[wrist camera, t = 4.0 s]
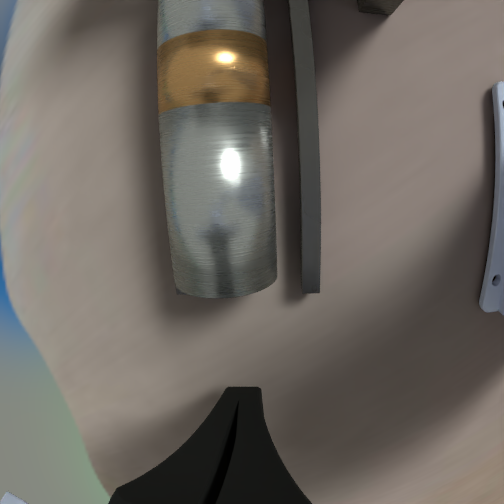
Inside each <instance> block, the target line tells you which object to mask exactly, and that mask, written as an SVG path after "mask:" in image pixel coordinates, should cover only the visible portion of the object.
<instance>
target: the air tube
mask: <svg viewBox="0 0 504 504" xmlns="http://www.w3.org/2000/svg"><path fill="white" fill-rule="evenodd" d="M157 83H158V112H159V132H160V148H161V162H162V175H163V187H164V197H165V208H166V217H167V226H168V235H169V244H170V252H171V259H172V267H173V274H174V281H175V286H176V287H177V288H178V289H179V290H180V291H182V292H184V293H186V294H189V295H192V296H196V297H202V298H232V297H239V296H244V295H248V294H252V293H255V292H258V291H261V290H263V289H265V288H267V287H269V286H270V285H271V284H273V283H274V282H275V280H276V279H277V245H276V215H275V188H274V165H273V143H272V123H271V105H270V88H269V71H268V56H267V41H266V27H265V13H264V0H158V12H157Z"/></svg>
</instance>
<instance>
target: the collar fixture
mask: <svg viewBox="0 0 504 504" xmlns="http://www.w3.org/2000/svg"><path fill="white" fill-rule="evenodd" d="M403 1H404V0H357V2H358V8H359V12H367V13H376V14H384V15H391V14H392V13H393V12H394V11H395V10H396V9H397V7H398V6H399V5H400V4H401V3H402V2H403ZM288 6H289V16H290V27H291V38H292V50H293V63H294V77H295V92H296V109H297V127H298V149H299V177H300V217H301V289H302V294H303V293H320V257H321V192H320V153H319V128H318V109H317V93H316V79H315V66H314V54H313V43H312V33H311V24H310V15H309V6H308V0H288ZM176 291H177V294H186V293H184V292H182V291H180V290H179V289H178V288H177V287H176Z"/></svg>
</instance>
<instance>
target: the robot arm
mask: <svg viewBox="0 0 504 504" xmlns="http://www.w3.org/2000/svg"><path fill="white" fill-rule="evenodd" d="M492 95H493V106H494V120H495V151H496V161H495V192H494V207H493V218H492V228H491V236H490V244H489V251H488V257H487V264H486V269H485V275H484V280H483V285H482V290H481V295H480V299H479V305H480V307H481V308H482V309H483V310H484V311H485V312H488V313H489V312H496V311H499V312H500V313H501V314H502V315H503V316H504V108H503V105H502V104H503V102H504V82H496V83H495V84H494V85H493V87H492ZM495 275H496V278H495V280H494V281H493V282H492V280H493V277H494V276H495ZM0 504H28V503H27V502H25V501H24V500H22V499H20V498H19V497H17V496H15V495H13V494H11V493H10V492H6V493H5V495H4V496H3V498H2V499H1V501H0ZM108 504H312V503H311V502H310V501H309V499H308V498H307V497H306V496H305V495H304V493H303V492H302V491H301V490H300V488H299V487H298V486H297V484H296V483H295V481H294V480H293V478H292V477H291V475H290V474H289V472H288V471H287V469H286V467H285V466H284V464H283V462H282V460H281V458H280V457H279V455H278V452H277V450H276V448H275V446H274V444H273V442H272V439H271V437H270V434H269V431H268V429H267V426H266V422H265V419H264V412H263V403H262V393H261V388H259V387H227V388H226V389H225V391H224V393H223V394H222V396H221V398H220V399H219V401H218V402H217V404H216V405H215V407H214V408H213V410H212V411H211V413H210V414H209V415H208V417H207V418H206V419H205V421H204V422H203V423H202V424H201V425H200V427H199V428H198V429H197V430H196V431H195V432H194V434H193V435H192V436H191V437H190V438H189V439H188V440H187V441H186V442H185V443H184V444H183V445H182V446H181V447H180V448H179V449H178V450H177V451H175V452H174V453H173V454H172V455H171V456H169V457H168V458H167V459H166V460H165V461H163V462H162V463H160V464H159V465H158V466H156V467H155V468H153V469H152V470H150V471H148V472H147V473H145V474H144V475H142V476H140V477H139V478H137V479H135V480H133V481H131V482H129V483H127V484H125V485H122V486H120V487H118V488H117V489H116V491H115V492H114V494H113V495H112V497H111V499H110V501H109V503H108Z"/></svg>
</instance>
